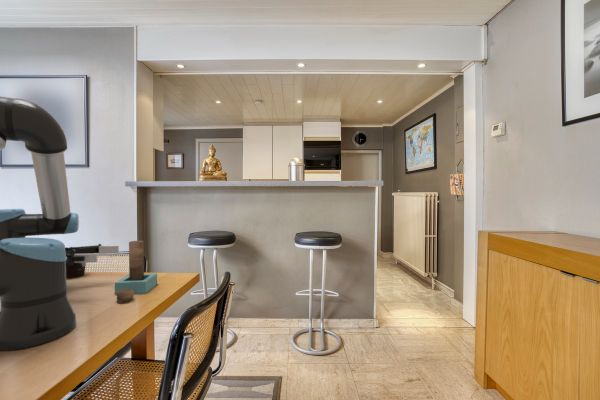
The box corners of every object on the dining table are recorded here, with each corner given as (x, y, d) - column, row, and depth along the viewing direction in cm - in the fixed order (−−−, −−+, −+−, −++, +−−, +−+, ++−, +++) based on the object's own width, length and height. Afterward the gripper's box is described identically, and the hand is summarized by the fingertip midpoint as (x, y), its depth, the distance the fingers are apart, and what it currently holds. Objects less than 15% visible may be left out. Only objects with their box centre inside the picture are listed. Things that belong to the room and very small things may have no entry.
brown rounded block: (135, 297, 93) (136, 288, 92) (129, 303, 88) (129, 294, 88) (121, 297, 92) (121, 288, 92) (113, 303, 88) (114, 293, 87)
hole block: (146, 293, 97) (146, 281, 96) (114, 294, 95) (114, 282, 95) (157, 284, 106) (157, 273, 106) (128, 284, 105) (128, 274, 105)
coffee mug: (78, 272, 122) (77, 249, 121) (92, 274, 119) (92, 250, 119) (46, 280, 111) (46, 254, 110) (62, 282, 108) (61, 256, 108)
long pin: (140, 291, 99) (140, 242, 98) (127, 291, 98) (126, 242, 98) (146, 286, 103) (145, 240, 103) (133, 287, 103) (132, 240, 102)
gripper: (67, 257, 109) (125, 255, 112) (8, 276, 85) (85, 274, 87) (66, 237, 109) (125, 237, 112) (8, 251, 84) (85, 249, 87)
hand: (108, 253), depth 99 cm, fingers open, 13 cm apart
